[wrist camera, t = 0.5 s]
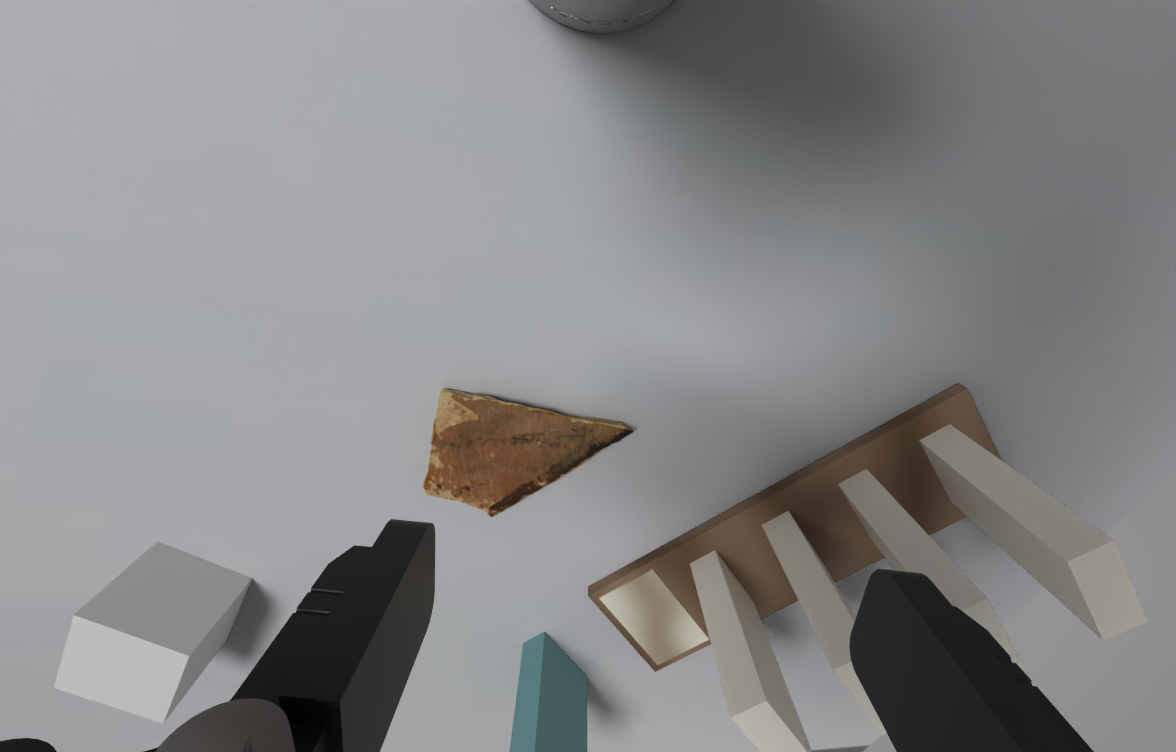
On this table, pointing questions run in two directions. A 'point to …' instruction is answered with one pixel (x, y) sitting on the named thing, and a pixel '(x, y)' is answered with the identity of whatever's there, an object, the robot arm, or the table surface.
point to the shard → (506, 449)
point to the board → (816, 502)
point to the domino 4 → (1038, 533)
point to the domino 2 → (820, 604)
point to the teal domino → (549, 701)
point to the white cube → (151, 632)
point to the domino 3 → (919, 553)
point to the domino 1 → (746, 661)
